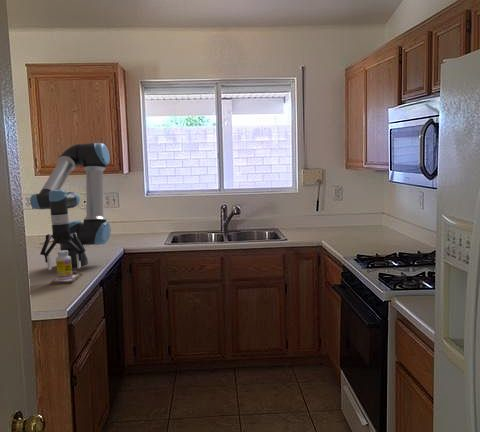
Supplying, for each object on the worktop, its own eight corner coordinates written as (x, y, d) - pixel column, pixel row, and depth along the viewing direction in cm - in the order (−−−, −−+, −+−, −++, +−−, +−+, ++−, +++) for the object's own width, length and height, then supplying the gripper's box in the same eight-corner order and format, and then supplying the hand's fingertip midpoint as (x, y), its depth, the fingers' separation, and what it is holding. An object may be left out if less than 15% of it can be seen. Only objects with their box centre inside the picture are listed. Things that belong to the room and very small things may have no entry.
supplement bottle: (66, 280, 238) (63, 252, 236) (54, 279, 240) (52, 252, 238) (75, 276, 244) (73, 249, 242) (64, 276, 246) (61, 249, 245)
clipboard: (61, 276, 251) (61, 271, 251) (82, 275, 251) (82, 270, 251) (50, 284, 235) (49, 279, 235) (72, 283, 236) (71, 278, 235)
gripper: (30, 226, 235) (34, 271, 237) (85, 223, 235) (89, 268, 238) (36, 223, 242) (40, 268, 245) (89, 220, 243) (93, 265, 245)
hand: (64, 268), depth 241 cm, fingers open, 13 cm apart
